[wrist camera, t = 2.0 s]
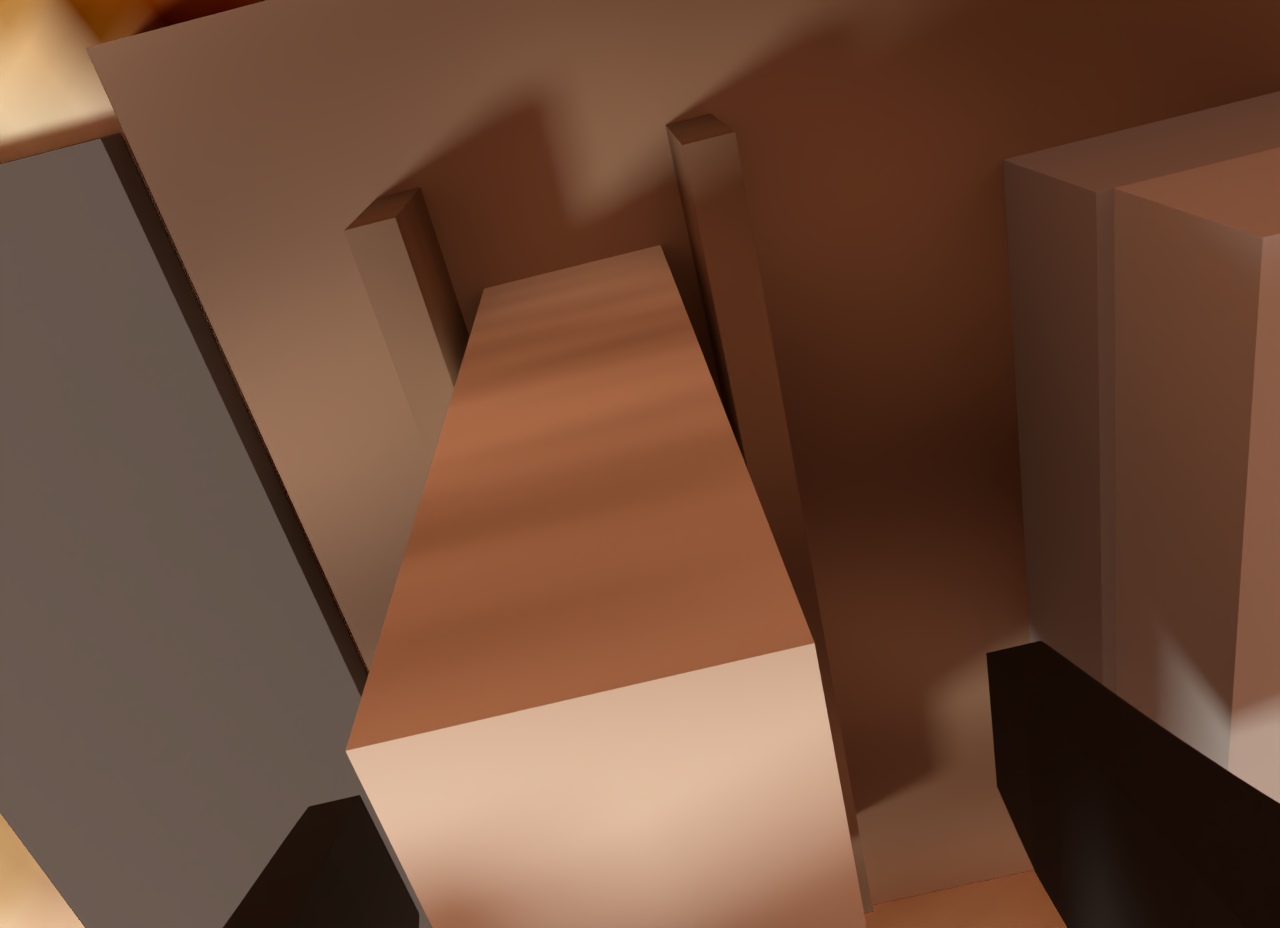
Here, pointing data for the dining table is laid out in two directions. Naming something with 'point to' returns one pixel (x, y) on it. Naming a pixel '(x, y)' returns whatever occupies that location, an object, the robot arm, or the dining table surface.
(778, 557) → the brown rectangular block
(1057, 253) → the block
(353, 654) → the gray rectangular plate
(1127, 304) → the upper offcut
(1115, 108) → the walnut rack
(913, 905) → the dining table surface
